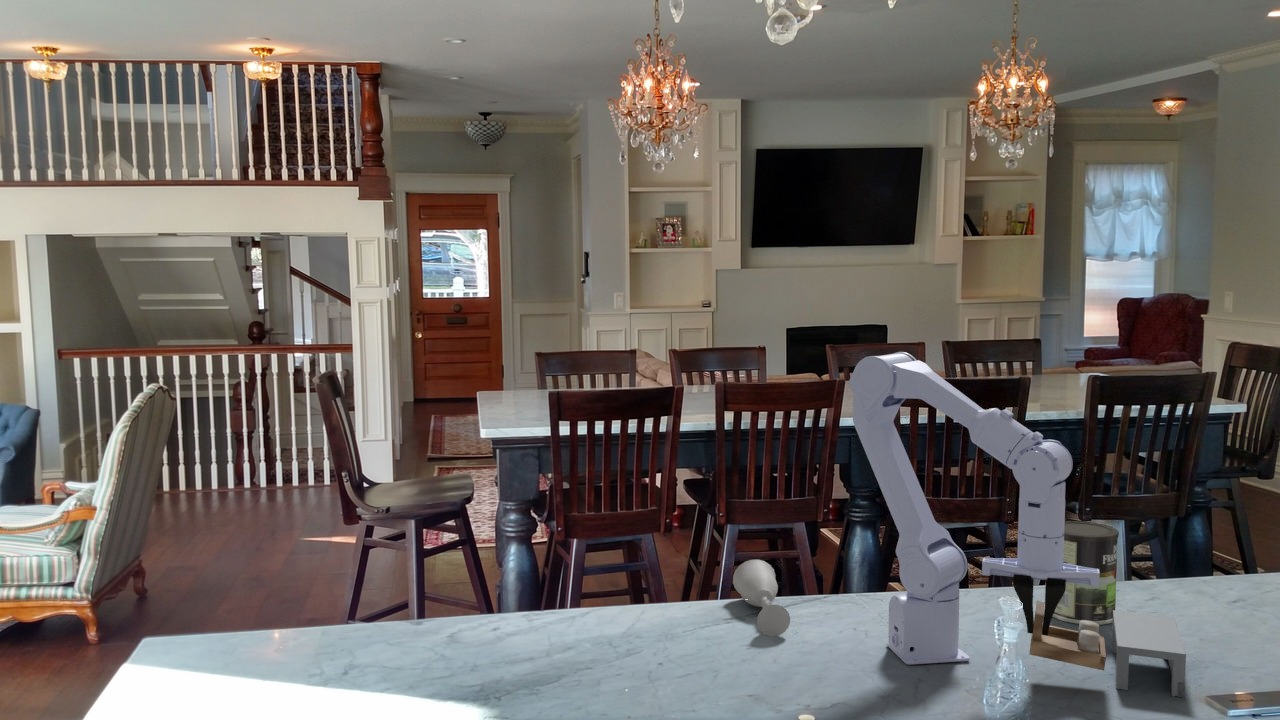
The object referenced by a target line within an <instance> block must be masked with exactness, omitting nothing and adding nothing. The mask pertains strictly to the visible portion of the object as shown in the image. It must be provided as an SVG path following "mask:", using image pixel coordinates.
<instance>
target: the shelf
mask: <svg viewBox="0 0 1280 720" xmlns="http://www.w3.org/2000/svg"><path fill="white" fill-rule="evenodd" d="M1111 624H1112V625H1111V626H1112V629H1111V633H1112V634H1111V653H1113V654H1116V661H1115V662H1116V665H1115V668H1116V669H1115V689H1118V690H1125V691H1128V690H1129V671H1130V670H1129V667H1130V664H1129V663H1130V656H1137V657H1144V658H1154V659H1162V660H1168V665H1169V669H1170V673H1171V689H1170V690H1171V691H1170V693H1171V696H1172V697H1175V696H1178V698H1183V697H1184V698H1185V689H1186V688H1185V686H1186V668H1187V667H1186V666H1187V665H1186V663H1187V661H1186V660H1187V654H1186V649H1185V646H1184V642H1183V639H1182V637H1181V633H1180V630H1179V627H1178V622H1177V620H1176V617H1175V616H1172V615H1171V616H1170V615H1160V614H1150V613H1142V612H1132V611H1131V612H1130V611H1122V610H1116V609H1115V610H1113V622H1112V623H1111Z"/></svg>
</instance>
